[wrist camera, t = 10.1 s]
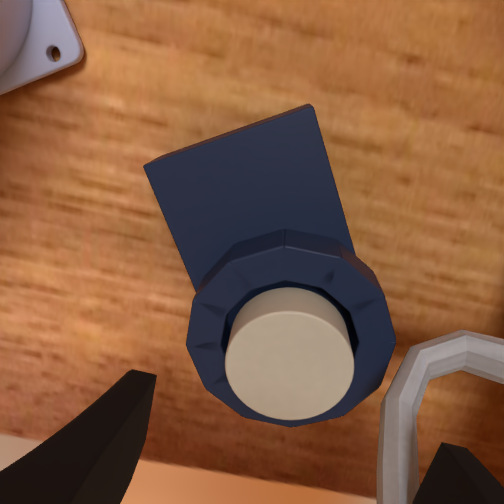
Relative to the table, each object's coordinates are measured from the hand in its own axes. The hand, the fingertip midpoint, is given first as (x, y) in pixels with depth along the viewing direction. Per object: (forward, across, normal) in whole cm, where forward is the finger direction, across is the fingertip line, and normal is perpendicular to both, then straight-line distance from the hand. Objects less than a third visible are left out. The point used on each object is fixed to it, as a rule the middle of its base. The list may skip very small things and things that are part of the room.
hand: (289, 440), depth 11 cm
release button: (+5, 0, 0) cm, 5 cm away
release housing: (+8, +1, -2) cm, 9 cm away
